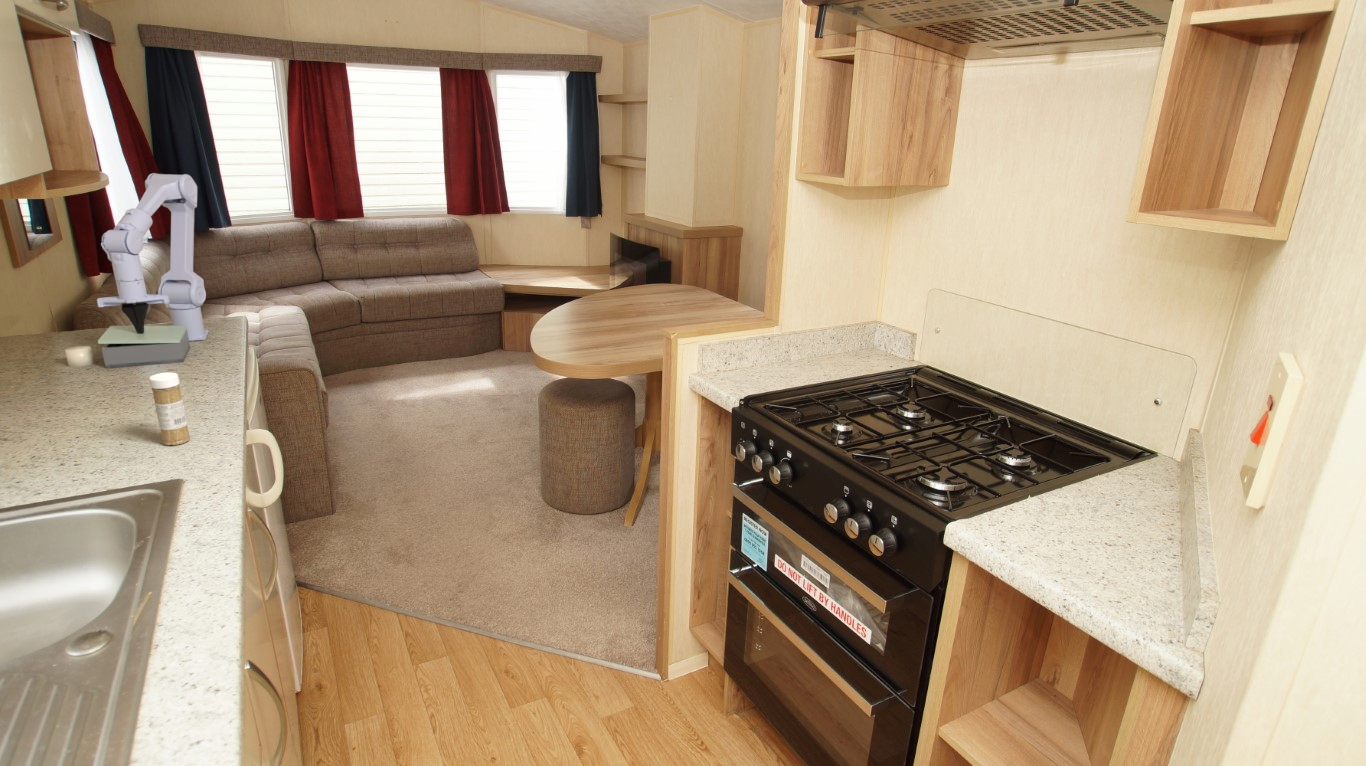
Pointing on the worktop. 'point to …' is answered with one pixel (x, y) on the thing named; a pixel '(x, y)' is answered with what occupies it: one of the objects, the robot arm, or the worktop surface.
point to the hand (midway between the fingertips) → (140, 332)
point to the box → (145, 353)
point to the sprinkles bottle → (169, 408)
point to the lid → (143, 335)
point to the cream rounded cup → (79, 356)
